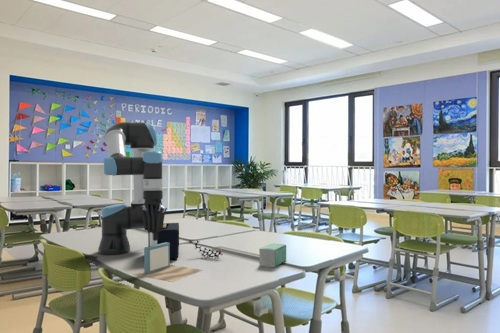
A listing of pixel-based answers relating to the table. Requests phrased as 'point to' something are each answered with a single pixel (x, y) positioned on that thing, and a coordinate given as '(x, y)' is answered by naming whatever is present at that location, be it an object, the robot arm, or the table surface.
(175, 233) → the speaker
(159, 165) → the robot arm
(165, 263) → the tile
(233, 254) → the table surface
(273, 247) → the box
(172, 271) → the mat
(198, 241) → the molecular model
